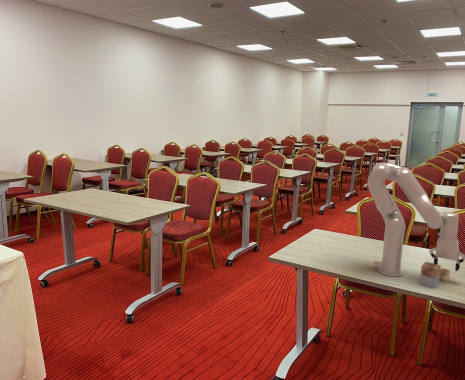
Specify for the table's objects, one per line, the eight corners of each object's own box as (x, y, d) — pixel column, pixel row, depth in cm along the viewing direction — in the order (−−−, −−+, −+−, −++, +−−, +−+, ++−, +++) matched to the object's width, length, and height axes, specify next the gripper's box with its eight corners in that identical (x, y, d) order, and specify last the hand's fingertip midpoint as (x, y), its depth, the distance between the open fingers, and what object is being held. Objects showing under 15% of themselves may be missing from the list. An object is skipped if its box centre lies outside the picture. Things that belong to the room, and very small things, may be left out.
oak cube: (436, 279, 204) (437, 270, 203) (438, 276, 208) (439, 267, 207) (446, 281, 201) (447, 272, 200) (449, 278, 205) (450, 269, 204)
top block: (420, 274, 197) (421, 265, 196) (424, 270, 202) (425, 261, 201) (435, 278, 192) (437, 269, 192) (439, 274, 198) (440, 265, 197)
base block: (419, 284, 198) (420, 274, 197) (423, 280, 203) (424, 270, 202) (434, 288, 193) (435, 278, 192) (438, 283, 199) (439, 274, 198)
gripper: (428, 235, 203) (426, 266, 206) (466, 241, 192) (463, 274, 195) (432, 232, 209) (430, 262, 212) (469, 237, 197) (466, 270, 200)
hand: (446, 268), depth 203 cm, fingers open, 9 cm apart
